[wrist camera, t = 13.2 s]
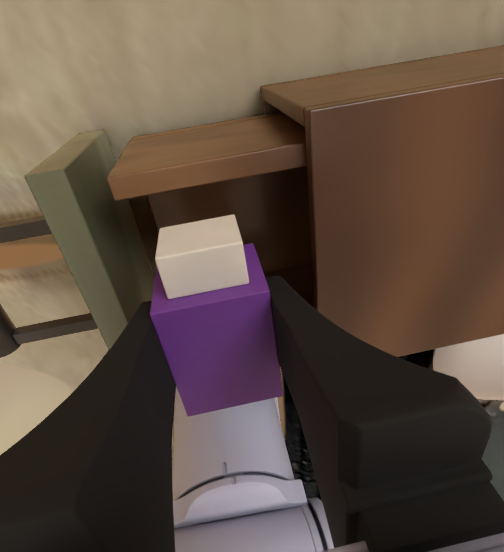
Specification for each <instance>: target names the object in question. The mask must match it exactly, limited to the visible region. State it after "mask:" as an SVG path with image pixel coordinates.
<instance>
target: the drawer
mask: <svg viewBox="0 0 504 552" xmlns="http://www.w3.org/2000/svg"><path fill="white" fill-rule="evenodd" d="M25 179H26V181H27V183H28V185H29V187H30V189H31V191H32V193H33V196H34V198H35V200H36V202H37V204H38V206H39V208H40V210H41V212H42V214H43V216H40V217H34V218H29V219H23V220H18V221H12V222H7V223H1V224H0V243H3V242H9V241H14V240H19V239H25V238H30V237H36V236H41V235H46V234H53V236H54V239H55V241H56V243H57V245H58V247H59V249H60V251H61V253H62V255H63V257H64V259H65V261H66V263H67V265H68V267H69V269H70V271H71V273H72V275H73V277H74V279H75V282H76V284H77V286H78V288H79V290H80V292H81V294H82V296H83V298H84V300H85V302H86V304H87V306H88V308H89V310H90V312H91V313H88V314H83V315H78V316H73V317H68V318H63V319H58V320H53V321H48V322H43V323H38V324H33V325H28V326H23V327H18V328H16V327H15V326H14V324H13V323H12V321H11V320H10V318H9V317H8V315H7V314H6V312H5V311H4V309H3V307H2V306H1V304H0V358H1V357H4V356H7V355H9V354H11V353H12V352H14V351H15V350H16V349H18V348H19V347H20V345H21V344H23V343H28V342H33V341H38V340H43V339H48V338H53V337H58V336H63V335H68V334H73V333H77V332H82V331H87V330H92V329H97V328H98V329H99V331H100V333H101V335H102V337H103V339H104V341H105V343H106V345H107V347H108V349H109V350H110V348H111V347H112V346H113V344H114V343H115V341H116V340H117V339H118V337H119V336H120V334H121V333H122V332H123V330H124V329H125V327H126V326H127V324H128V323H129V321H130V320H131V318H132V317H133V315H134V314H135V312H136V311H137V309H138V308H139V306H140V305H141V303H142V302H146V301H152V295H153V288H154V281H155V277H154V274H153V271H152V268H151V265H150V262H149V259H148V256H147V253H146V250H145V247H144V244H143V242H142V239H141V236H140V233H139V230H138V227H137V224H136V221H135V218H134V215H133V212H132V209H131V206H130V203H129V200H128V198H134V197H139V196H145V195H146V196H147V199H148V202H149V205H150V209H151V212H152V215H153V218H154V222H155V225H156V228H157V231H158V235H159V229H160V228H164V227H169V226H174V225H180V224H185V223H190V222H196V221H201V220H206V219H212V218H217V217H222V216H228V215H235V218H236V221H237V225H238V228H239V231H240V235H241V238H242V242H243V245H246V244H251V243H253V244H254V247H255V249H256V252H257V255H258V258H259V261H260V264H261V267H262V270H263V273H264V276H265V278H268V277H273V276H278V275H279V276H280V277H282V278H283V279H284V280H285V281H286V282H287V284H288V285H289V286H290V287H291V288H292V289H293V290H294V291H295V292H297V293H298V294H299V295H300V296H301V297H302V298H303V299H304V300H305V301H306V302H308V303H309V304H310V305H311V306H312V307H314V300H313V279H312V259H311V238H310V218H309V197H308V177H307V156H306V136H305V127H304V126H302V125H301V124H299V123H298V122H296V121H295V120H293V119H292V118H290V117H289V116H287V115H286V114H284V113H283V112H276V113H270V114H264V115H259V116H253V117H247V118H241V119H235V120H230V121H224V122H218V123H212V124H206V125H200V126H195V127H189V128H183V129H177V130H171V131H166V132H160V133H154V134H148V135H142V136H136V137H133V138H132V139H131V140H130V141H129V143H128V145H127V146H126V148H125V150H124V151H123V153H122V154H121V156H120V158H119V159H118V161H117V162H115V159H114V156H113V153H112V150H111V147H110V144H109V141H108V138H107V135H106V132H105V130H104V129H102V130H96V131H90V132H85V133H79V134H78V135H77V136H75V137H74V138H73V139H71V140H70V141H69V142H68V143H66V144H65V145H64V146H62V147H61V148H60V149H59V150H57V151H56V152H55V153H53V154H52V155H51V156H50V157H48V158H47V159H46V160H44V161H43V162H42V163H41V164H39V165H38V166H37V167H36V168H34V169H33V170H32V171H30V172H29V173H28V174H27V175H25Z"/></svg>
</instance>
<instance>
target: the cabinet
mask: <svg viewBox="0 0 504 552" xmlns="http://www.w3.org/2000/svg"><path fill="white" fill-rule="evenodd" d="M261 95H262V104H263V113H264V114H270V113H276V112H283V113H284V114H286V115H287V116H289V117H290V118H292V119H293V120H295V121H296V122H298V123H299V124H301V125H302V126H304V127H305V136H306V156H307V177H308V197H309V218H310V238H311V259H312V279H313V300H314V308H315V309H316V310H317V311H318V312H320V313H321V314H322V315H324V316H325V317H326V318H328V319H329V320H330V321H332V322H333V323H335V324H336V325H337V326H339V327H340V328H342V329H343V330H345V331H347V332H348V333H350V334H352V335H353V336H355V337H357V338H359V339H360V340H362V341H364V342H366V343H368V344H370V345H372V346H374V347H376V348H378V349H380V350H382V351H384V352H387V353H389V354H391V355H393V356H396V357H399V356H404V355H409V354H413V353H418V352H423V351H427V350H432V349H436V348H441V347H446V346H450V345H455V344H460V343H464V342H469V341H474V340H478V339H483V338H488V337H492V336H497V335H502V334H504V45H503V46H497V47H491V48H485V49H479V50H473V51H467V52H461V53H455V54H449V55H443V56H437V57H431V58H425V59H419V60H413V61H407V62H401V63H395V64H389V65H383V66H377V67H372V68H366V69H360V70H354V71H348V72H342V73H336V74H330V75H324V76H318V77H312V78H306V79H300V80H294V81H288V82H282V83H276V84H270V85H264V86H261Z"/></svg>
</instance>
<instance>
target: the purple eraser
mask: <svg viewBox="0 0 504 552" xmlns="http://www.w3.org/2000/svg"><path fill="white" fill-rule="evenodd" d="M155 262H156V265H157V266H156V273H155V281H154V288H153V295H152V302H151V309H150V317H151V320H152V322H153V325H154V328H155V330H156V333H157V336H158V339H159V341H160V344H161V347H162V349H163V352H164V355H165V357H166V360H167V363H168V365H169V368H170V371H171V373H172V376H173V379H174V381H175V384H176V387H177V389H178V392H179V395H180V397H181V400H182V403H183V405H184V408H185V411H186V414H187V416H194V415H198V414H203V413H207V412H212V411H217V410H221V409H226V408H230V407H235V406H239V405H244V404H249V403H253V402H258V401H262V400H267V399H272V398H276V397H281V396H283V388H282V381H281V373H280V365H279V359H278V351H277V343H276V336H275V328H274V320H273V313H272V305H271V298H270V297H271V296H270V290H269V287H268V284H267V281H266V279H265V276H264V273H263V270H262V267H261V264H260V261H259V258H258V255H257V252H256V249H255V247H254V244H253V243H251V244H246V245H243V242H242V238H241V235H240V231H239V228H238V225H237V221H236V218H235V215H228V216H222V217H217V218H212V219H206V220H201V221H196V222H190V223H185V224H180V225H174V226H169V227H164V228H160V229H159V236H158V242H157V249H156V256H155Z"/></svg>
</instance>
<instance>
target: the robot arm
mask: <svg viewBox="0 0 504 552" xmlns="http://www.w3.org/2000/svg"><path fill="white" fill-rule="evenodd" d="M265 279H266V281H267V284H268V287H269V290H270V296H271V297H270V298H271V305H272V313H273V320H274V328H275V336H276V343H277V351H278V359H279V365H280V367H281V370H282V372H283V375H284V377H285V380H286V383H287V385H288V388H289V390H290V393H291V396H292V398H293V401H294V403H295V406H296V409H297V412H298V415H299V418H300V422H301V425H302V429H303V432H304V436H305V440H306V443H307V447H308V450H309V454H310V458H311V462H312V465H313V469H314V473H315V476H316V480H317V484H318V488H319V491H320V495H321V499H322V501H321V500H319V499H318V498H310V499H306V495H305V491H304V487H303V484H302V480H300V479H299V480H294V476H293V472H292V468H291V464H290V460H289V456H288V452H287V448H286V444H285V440H284V436H283V432H282V429H281V424H280V421H281V419H280V413H279V406H278V399H277V397H276V398H272V399H267V400H262V401H258V402H253V403H249V404H244V405H239V406H235V407H230V408H226V409H221V410H217V411H212V412H207V413H203V414H198V415H194V416H187V414H186V411H185V408H184V405H183V403H182V400H181V397H180V395H179V392H178V389H177V387H176V384H175V381H174V379H173V376H172V373H171V371H170V368H169V365H168V363H167V360H166V357H165V355H164V352H163V349H162V347H161V344H160V341H159V339H158V336H157V333H156V330H155V328H154V325H153V322H152V320H151V317H150V309H151V302H152V301H146V302H142V303H141V305H140V306H139V308H138V309H137V311H136V312H135V314H134V315H133V317H132V318H131V320H130V321H129V323H128V324H127V326H126V327H125V329H124V330H123V332H122V333H121V334H120V336H119V337H118V339H117V340H116V341H115V343H114V344H113V346H112V347H111V348H110V350H109V351H108V352H107V354H106V355H105V356H104V357H103V359H102V360H101V361H100V362H99V364H98V365H97V366H96V368H95V369H94V370H93V371H92V372H91V373H90V375H89V376H88V377H87V378H86V379H85V380H84V381H83V382H82V383H81V384H80V385H79V387H78V388H77V389H76V390H75V391H74V392H73V393H72V394H71V395H70V396H69V397H68V398H67V399H66V400H65V401H64V402H63V403H61V404H60V405H59V406H58V407H57V408H56V409H55V410H54V411H53V412H52V413H51V414H50V415H49V416H48V417H46V418H45V419H44V420H43V421H42V422H41V423H40V424H39V425H37V426H36V427H35V428H34V429H33V430H32V431H30V432H29V433H28V434H27V435H26V436H24V437H23V438H22V439H21V440H20V441H18V442H17V443H16V444H14V445H13V446H12V447H11V448H9V449H8V450H7V451H6V452H4V453H3V454H2V455H0V552H504V501H503V500H502V498H501V497H500V495H499V494H498V493H497V491H496V490H495V488H494V487H493V485H492V484H491V483H490V480H491V479H492V474H491V472H490V470H489V469H488V467H487V466H486V465H485V463H484V462H483V461H482V459H481V458H482V455H483V453H484V450H485V447H486V445H487V442H488V440H489V437H490V433H491V428H492V420H491V417H490V415H489V414H488V412H487V411H486V410H485V409H484V408H483V406H482V405H481V404H480V403H479V401H478V400H477V399H476V398H475V397H474V396H473V394H472V393H471V392H470V391H469V390H468V389H467V388H466V387H465V386H464V385H463V384H462V383H461V382H460V381H459V380H458V379H457V378H456V377H453V376H449V375H446V374H443V373H440V372H437V371H434V370H431V369H428V368H425V367H422V366H419V365H416V364H413V363H411V362H408V361H406V360H403V359H401V358H398V357H396V356H393V355H391V354H389V353H387V352H384V351H382V350H380V349H378V348H376V347H374V346H372V345H370V344H368V343H366V342H364V341H362V340H360V339H359V338H357V337H355V336H353V335H352V334H350V333H348V332H347V331H345V330H343V329H342V328H340V327H339V326H337V325H336V324H335V323H333V322H332V321H330V320H329V319H328V318H326V317H325V316H324V315H322V314H321V313H320V312H318V311H317V310H316V309H315V308H314V307H312V306H311V305H310V304H309V303H308V302H306V301H305V300H304V299H303V298H302V297H301V296H300V295H299V294H298V293H297V292H295V291H294V290H293V289H292V288H291V287H290V286H289V285H288V284H287V282H286V281H285V280H284V279H283V278H282V277H280V276H279V275H278V276H273V277H268V278H265ZM174 411H175V415H174ZM173 416H174V445H173V475H172V428H173Z"/></svg>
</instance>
